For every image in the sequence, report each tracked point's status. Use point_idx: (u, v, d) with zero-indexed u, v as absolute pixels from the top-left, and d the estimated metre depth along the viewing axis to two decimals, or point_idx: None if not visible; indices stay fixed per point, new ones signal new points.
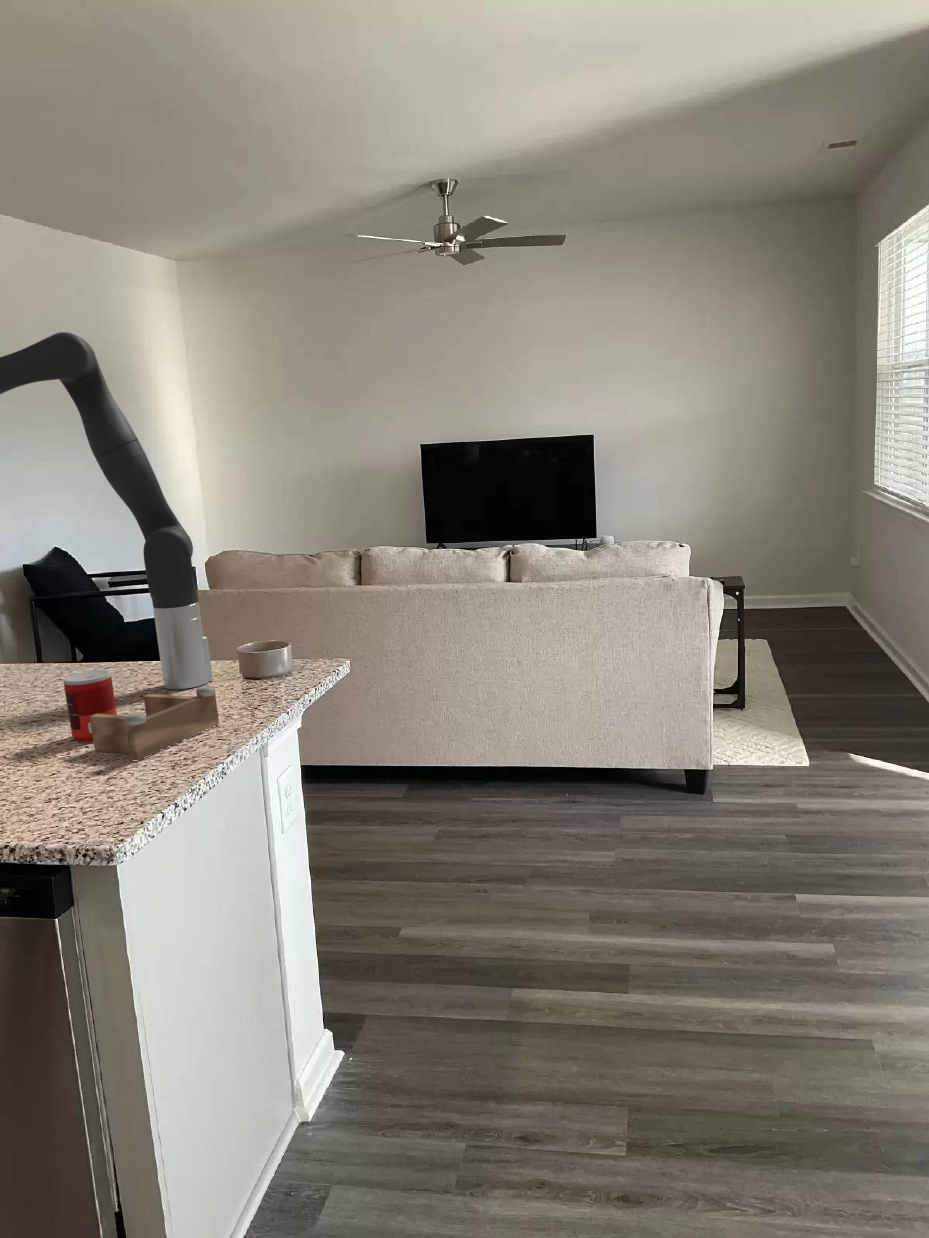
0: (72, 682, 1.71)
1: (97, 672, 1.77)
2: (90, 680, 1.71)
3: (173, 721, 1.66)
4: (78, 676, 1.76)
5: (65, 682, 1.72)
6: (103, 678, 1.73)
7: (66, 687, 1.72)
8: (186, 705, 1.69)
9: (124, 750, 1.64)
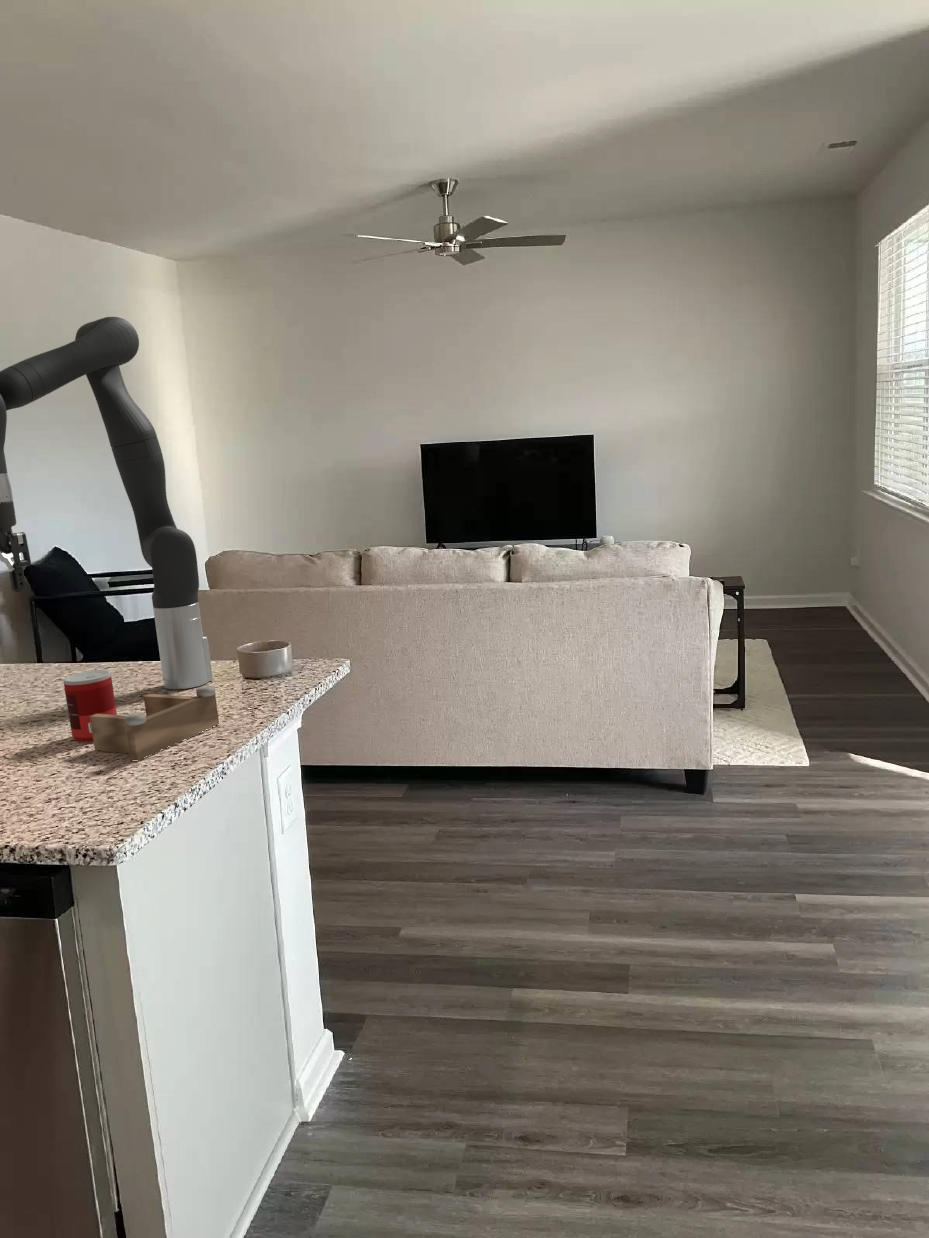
0: (72, 682, 1.71)
1: (97, 672, 1.77)
2: (90, 680, 1.71)
3: (173, 721, 1.66)
4: (78, 676, 1.76)
5: (65, 682, 1.72)
6: (103, 678, 1.73)
7: (66, 687, 1.72)
8: (186, 705, 1.69)
9: (124, 750, 1.64)
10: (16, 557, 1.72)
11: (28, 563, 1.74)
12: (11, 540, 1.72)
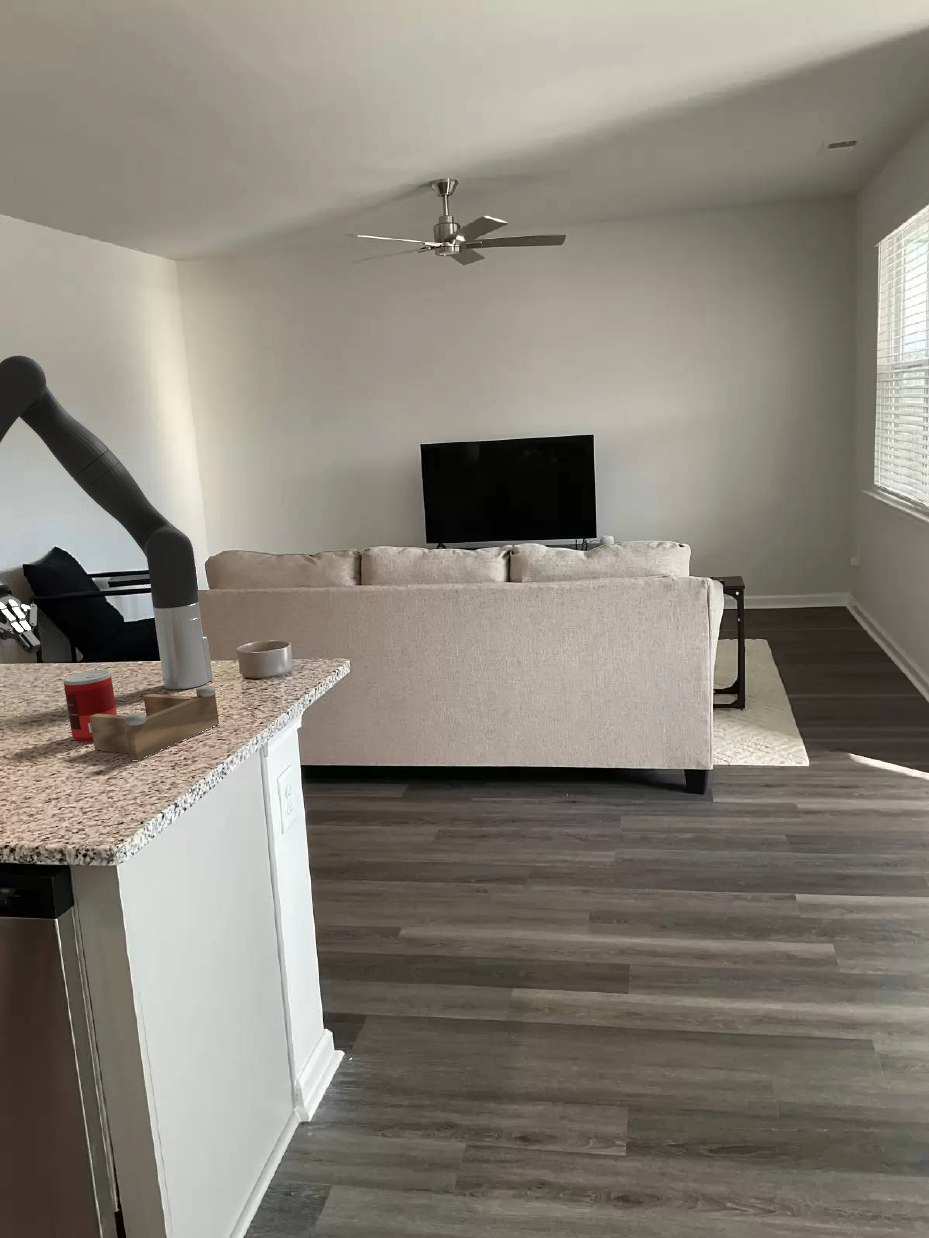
0: (72, 682, 1.71)
1: (97, 672, 1.77)
2: (90, 680, 1.71)
3: (173, 721, 1.66)
4: (78, 676, 1.76)
5: (65, 682, 1.72)
6: (103, 678, 1.73)
7: (66, 687, 1.72)
8: (186, 705, 1.69)
9: (124, 750, 1.64)
10: None
11: (8, 632, 1.76)
12: None
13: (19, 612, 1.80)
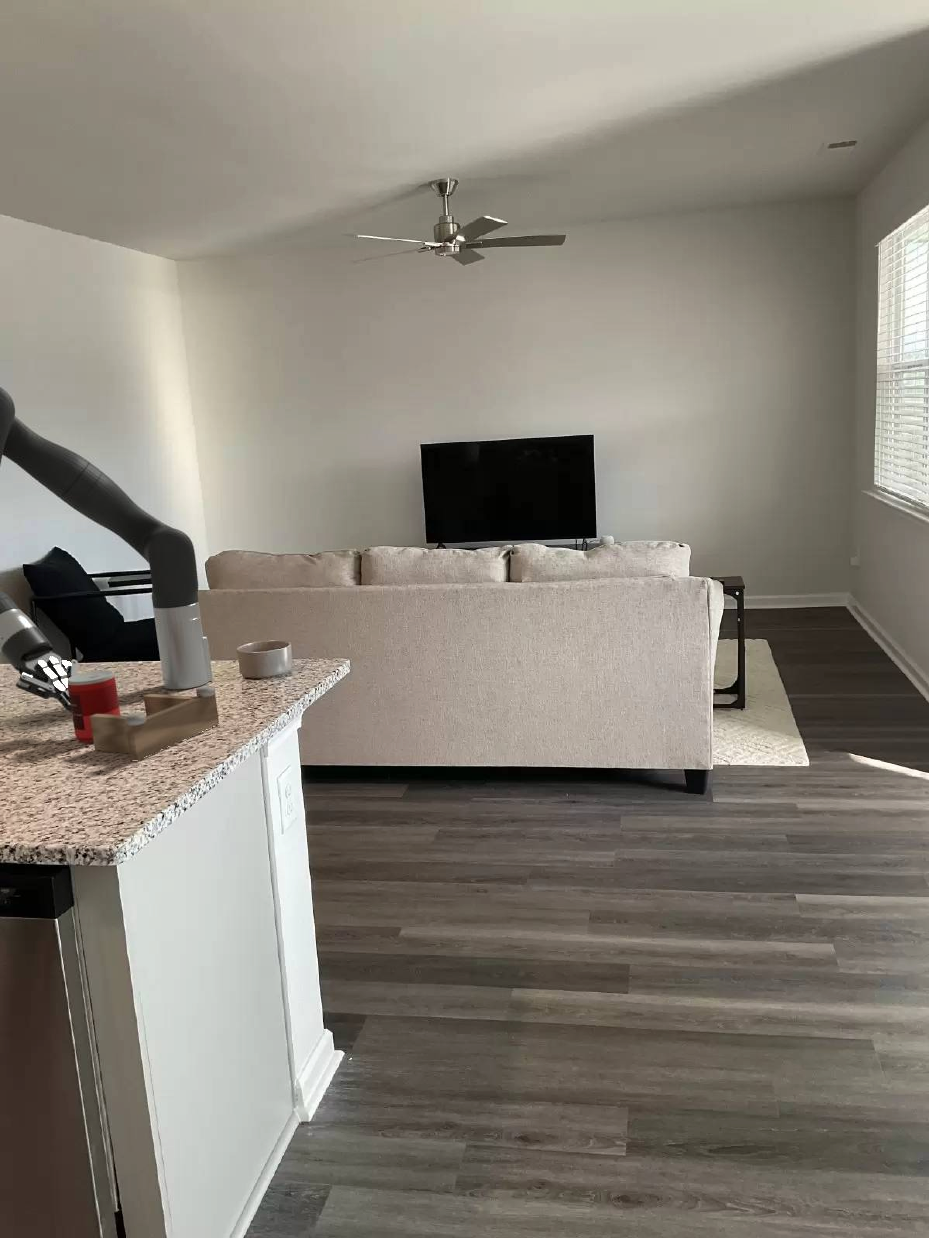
0: (76, 682, 1.70)
1: (100, 672, 1.77)
2: (94, 680, 1.71)
3: (173, 721, 1.66)
4: (81, 676, 1.75)
5: (69, 682, 1.71)
6: (107, 678, 1.72)
7: (70, 687, 1.71)
8: (186, 705, 1.69)
9: (124, 750, 1.64)
10: None
11: (50, 691, 1.75)
12: None
13: (60, 669, 1.79)
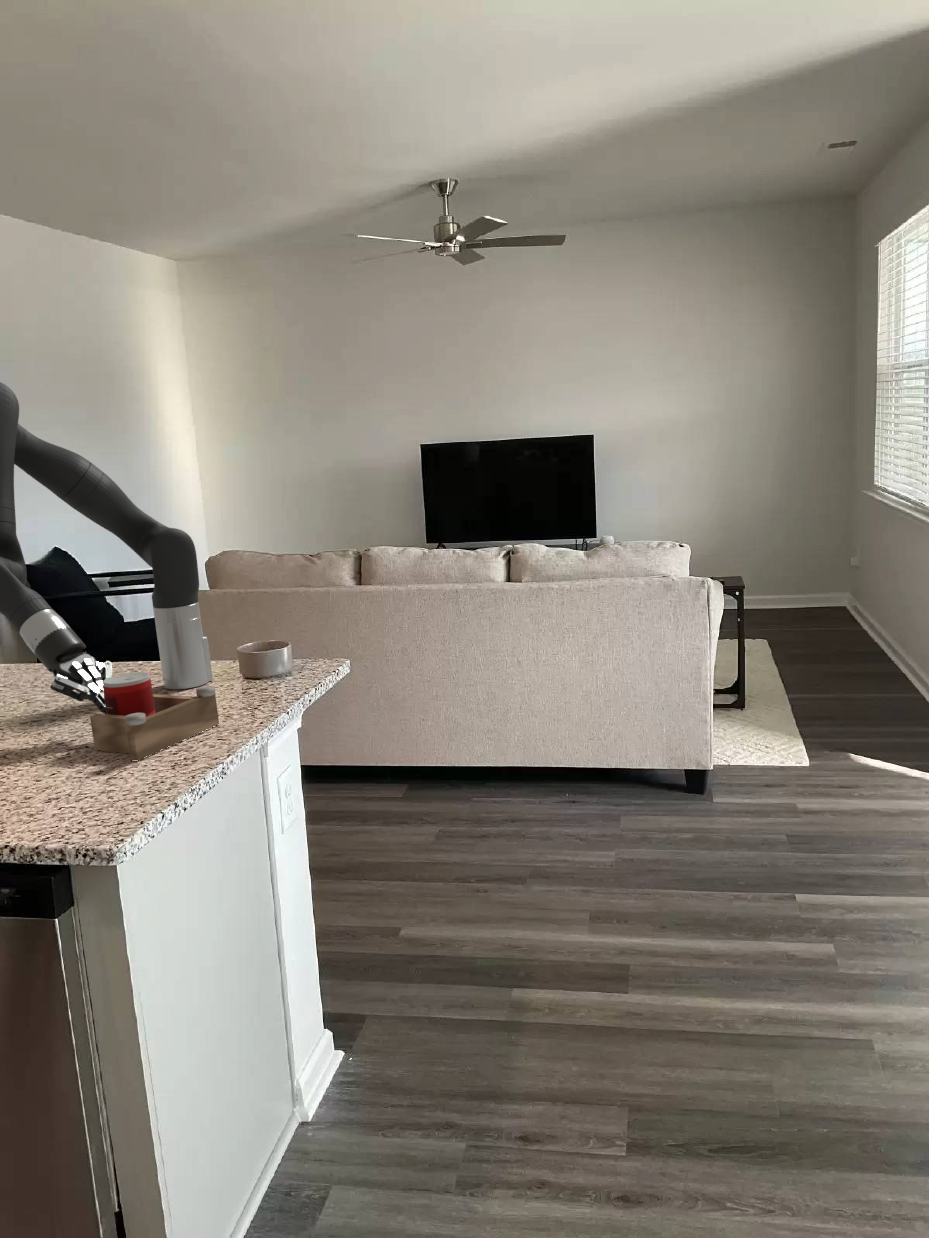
0: (112, 684, 1.66)
1: (135, 674, 1.73)
2: (131, 682, 1.67)
3: (173, 721, 1.66)
4: (116, 678, 1.71)
5: (105, 684, 1.67)
6: (144, 680, 1.68)
7: (106, 690, 1.67)
8: (186, 705, 1.69)
9: (124, 750, 1.64)
10: None
11: (85, 693, 1.71)
12: None
13: (95, 671, 1.75)
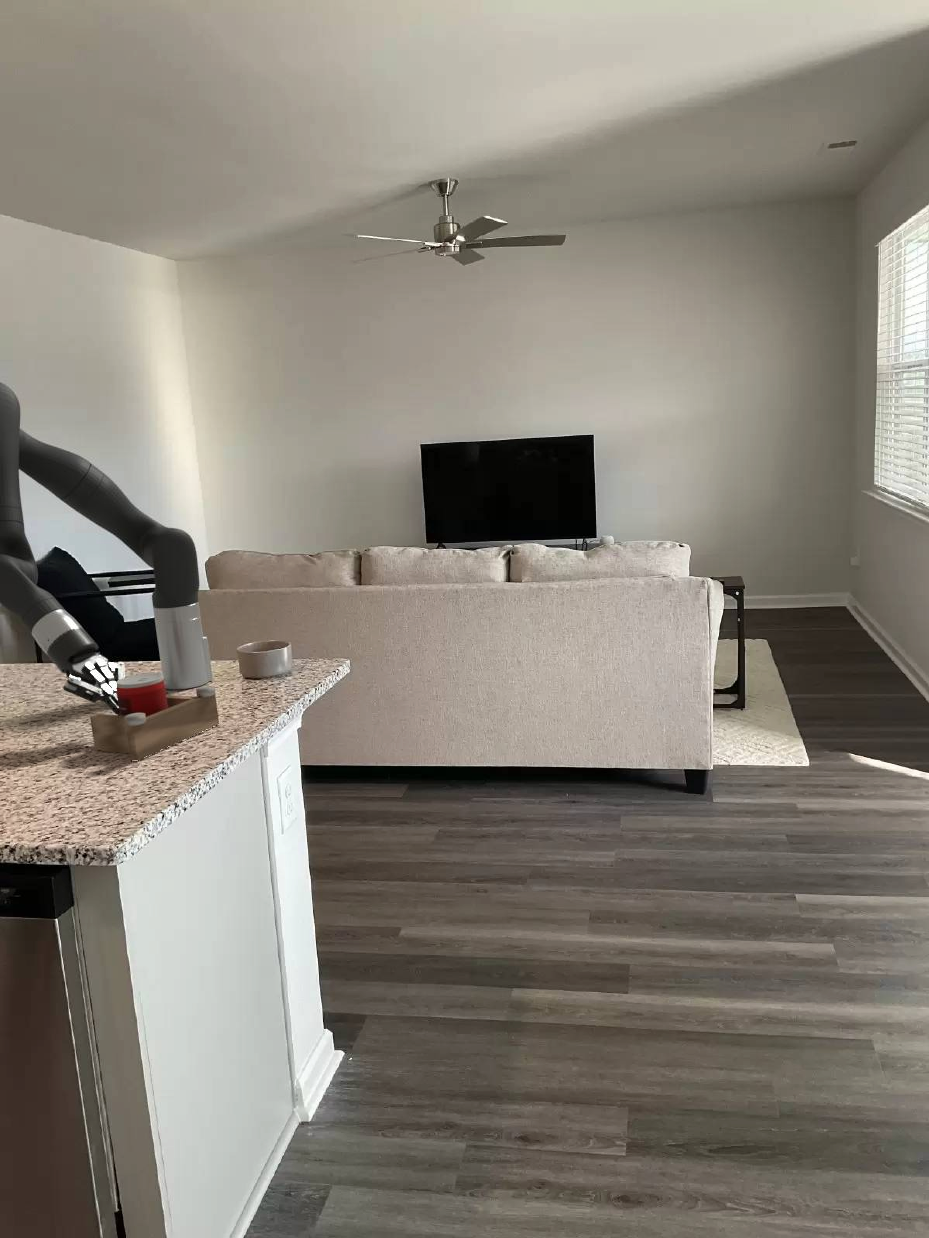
0: (126, 685, 1.65)
1: (148, 675, 1.71)
2: (145, 683, 1.65)
3: (173, 721, 1.66)
4: (129, 679, 1.70)
5: (118, 685, 1.66)
6: (157, 681, 1.67)
7: (119, 690, 1.66)
8: (186, 705, 1.69)
9: (124, 750, 1.64)
10: None
11: (98, 694, 1.70)
12: None
13: (108, 672, 1.73)
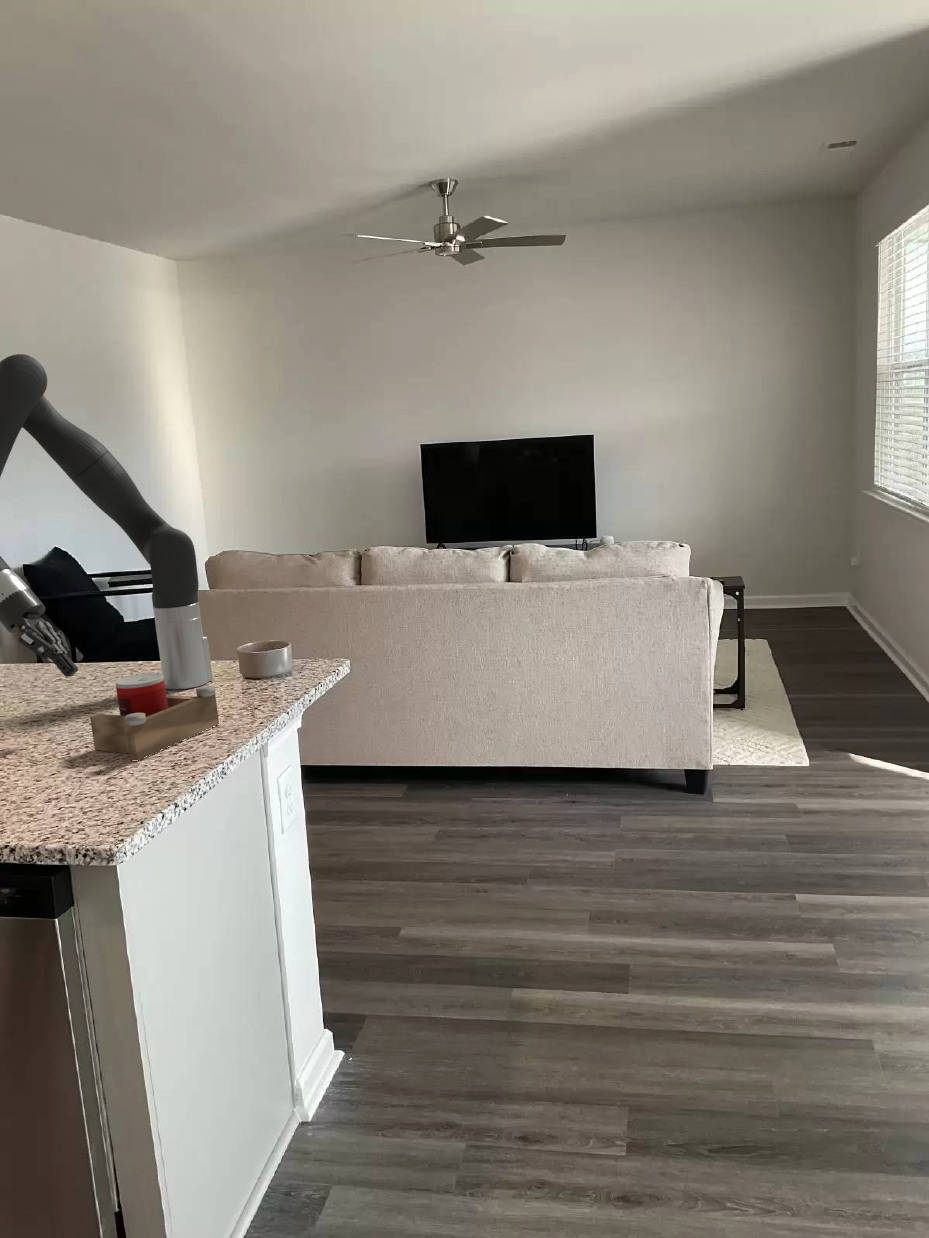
0: (126, 685, 1.65)
1: (148, 675, 1.71)
2: (145, 683, 1.65)
3: (173, 721, 1.66)
4: (129, 679, 1.70)
5: (118, 685, 1.66)
6: (157, 681, 1.67)
7: (119, 691, 1.66)
8: (186, 705, 1.69)
9: (124, 750, 1.64)
10: None
11: (51, 651, 1.74)
12: None
13: (55, 635, 1.78)
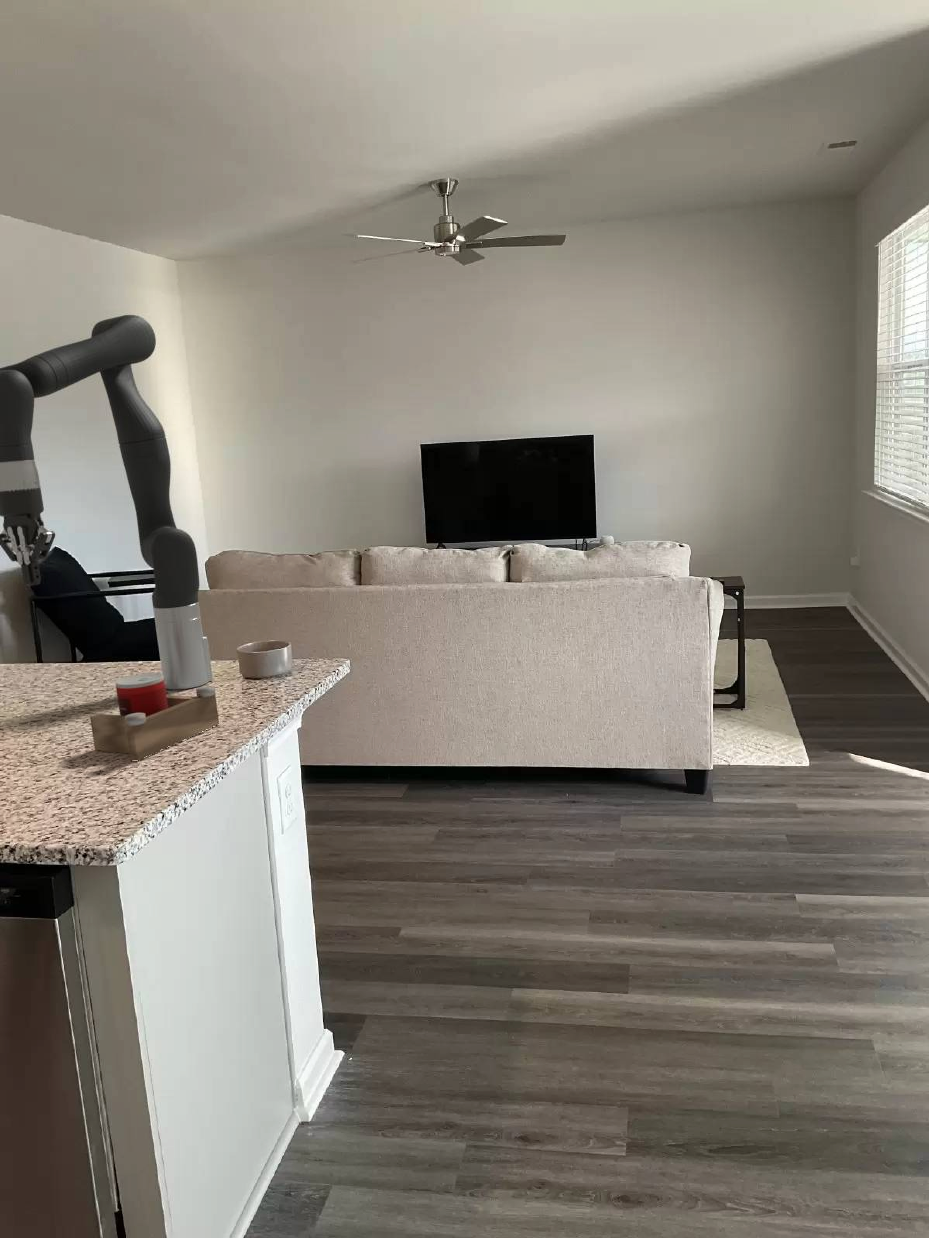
0: (126, 685, 1.65)
1: (148, 675, 1.72)
2: (145, 683, 1.65)
3: (173, 721, 1.66)
4: (129, 679, 1.70)
5: (118, 685, 1.66)
6: (157, 681, 1.67)
7: (119, 691, 1.66)
8: (186, 705, 1.69)
9: (124, 750, 1.64)
10: (36, 553, 1.74)
11: (43, 558, 1.76)
12: (40, 538, 1.73)
13: None
